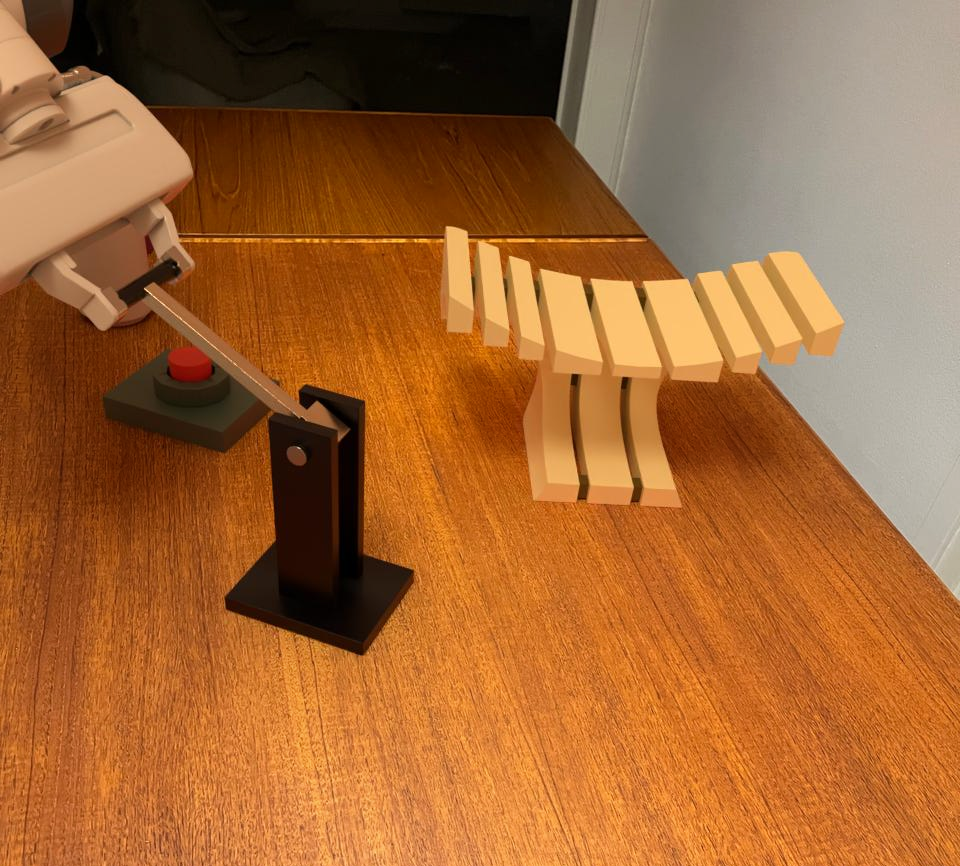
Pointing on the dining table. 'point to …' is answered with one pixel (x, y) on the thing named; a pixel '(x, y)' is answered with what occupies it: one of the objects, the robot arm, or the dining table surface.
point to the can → (116, 266)
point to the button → (189, 365)
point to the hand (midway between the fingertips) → (151, 299)
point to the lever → (219, 347)
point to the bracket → (320, 535)
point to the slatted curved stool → (627, 355)
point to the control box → (186, 405)
